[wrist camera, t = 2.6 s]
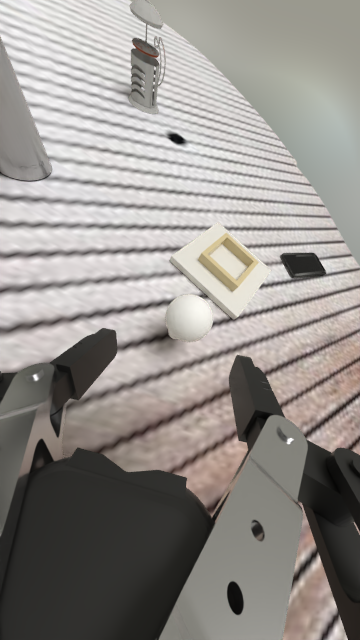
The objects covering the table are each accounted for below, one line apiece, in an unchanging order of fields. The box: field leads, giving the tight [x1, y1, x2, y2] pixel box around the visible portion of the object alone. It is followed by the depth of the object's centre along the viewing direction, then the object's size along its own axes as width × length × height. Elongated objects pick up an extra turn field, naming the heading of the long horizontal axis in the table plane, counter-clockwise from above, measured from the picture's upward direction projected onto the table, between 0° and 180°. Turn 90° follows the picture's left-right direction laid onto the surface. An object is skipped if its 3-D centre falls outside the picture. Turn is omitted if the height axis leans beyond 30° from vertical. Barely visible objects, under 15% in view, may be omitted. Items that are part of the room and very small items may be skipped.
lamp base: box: [170, 222, 271, 320], centre depth 34 cm, size 18×18×4 cm
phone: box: [280, 253, 326, 278], centre depth 45 cm, size 8×1×15 cm
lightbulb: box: [165, 294, 213, 342], centre depth 22 cm, size 6×6×11 cm
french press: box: [128, 0, 166, 114], centre depth 39 cm, size 10×12×25 cm
